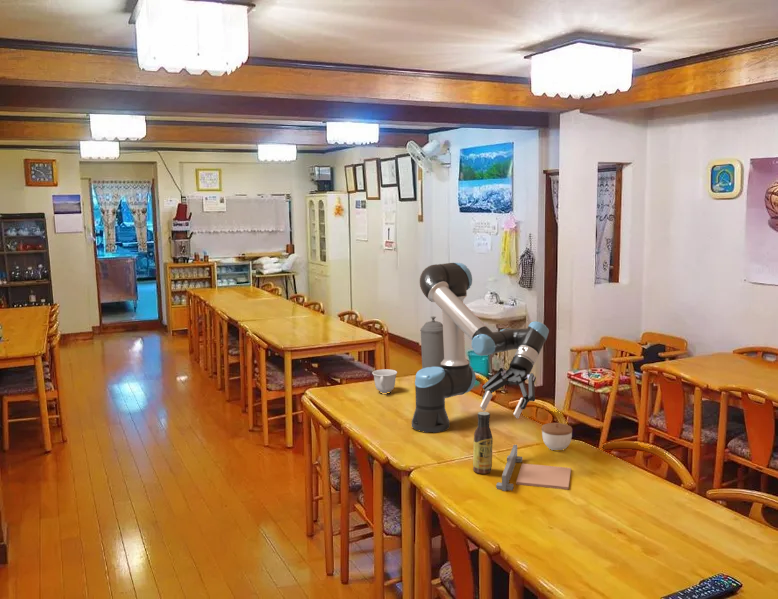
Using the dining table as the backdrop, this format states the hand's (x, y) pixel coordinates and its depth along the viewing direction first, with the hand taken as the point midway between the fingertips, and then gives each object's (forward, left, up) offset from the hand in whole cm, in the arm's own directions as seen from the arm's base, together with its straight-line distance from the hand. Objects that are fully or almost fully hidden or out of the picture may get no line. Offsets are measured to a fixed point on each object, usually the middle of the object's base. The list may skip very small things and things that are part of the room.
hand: (498, 412), depth 230 cm
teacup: (-65, +74, -18) cm, 101 cm away
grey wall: (+5, -8, -18) cm, 20 cm away
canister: (-45, +90, -18) cm, 102 cm away
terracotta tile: (+16, -8, -18) cm, 25 cm away
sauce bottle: (-4, -8, -18) cm, 20 cm away
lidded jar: (+18, +20, -18) cm, 33 cm away
